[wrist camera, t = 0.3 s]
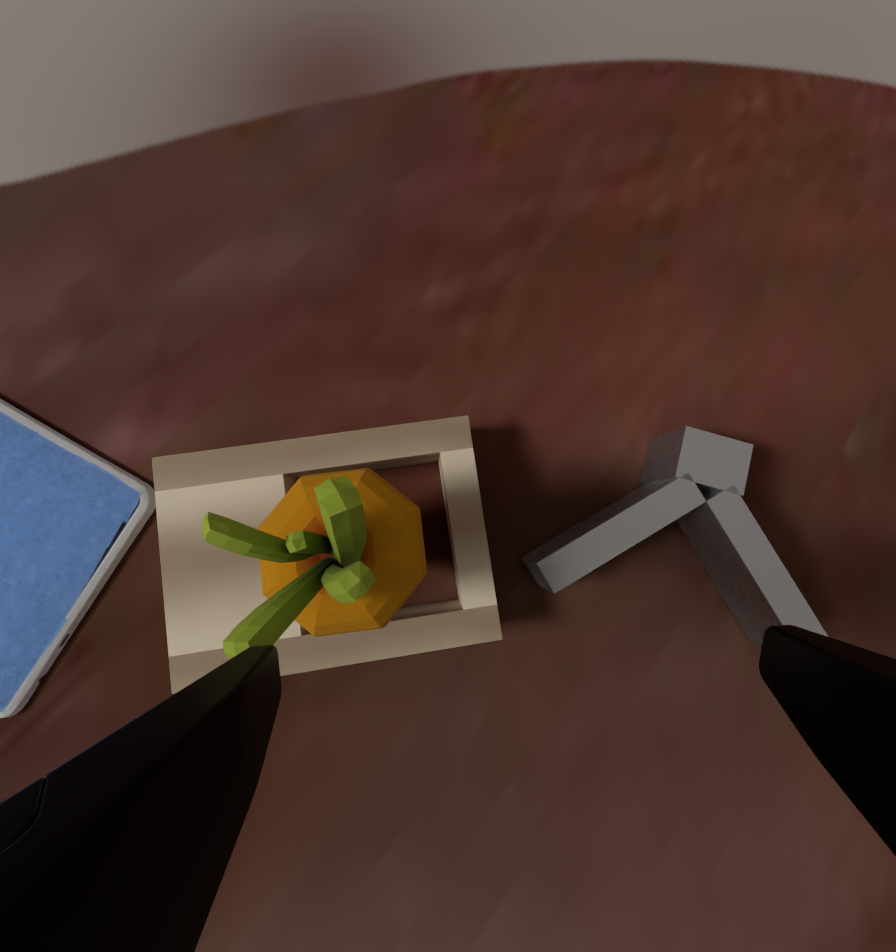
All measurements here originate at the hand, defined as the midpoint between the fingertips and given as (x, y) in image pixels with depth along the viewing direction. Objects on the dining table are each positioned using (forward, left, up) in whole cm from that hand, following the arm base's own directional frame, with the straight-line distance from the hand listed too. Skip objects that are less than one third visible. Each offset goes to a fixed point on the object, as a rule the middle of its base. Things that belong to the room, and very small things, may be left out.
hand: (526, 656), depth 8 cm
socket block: (-3, +6, -15) cm, 16 cm away
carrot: (-1, +4, -15) cm, 16 cm away
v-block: (+8, -6, -15) cm, 18 cm away
